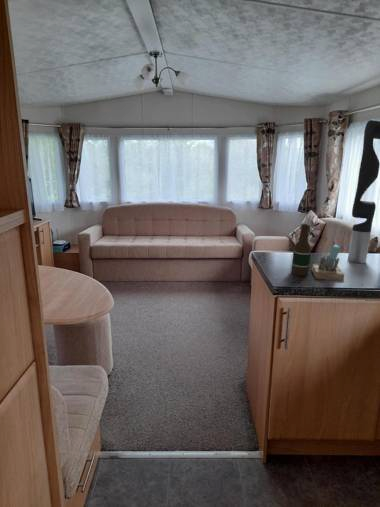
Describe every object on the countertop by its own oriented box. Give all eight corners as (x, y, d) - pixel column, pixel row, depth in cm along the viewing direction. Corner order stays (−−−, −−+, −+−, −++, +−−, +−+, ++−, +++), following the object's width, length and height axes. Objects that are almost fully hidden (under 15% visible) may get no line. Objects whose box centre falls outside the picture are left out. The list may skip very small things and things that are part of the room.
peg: (324, 264, 162) (332, 244, 152) (331, 265, 162) (340, 245, 152) (325, 269, 160) (333, 249, 150) (332, 270, 160) (340, 250, 149)
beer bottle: (308, 272, 165) (314, 223, 159) (307, 277, 158) (314, 226, 152) (291, 270, 168) (296, 222, 162) (290, 275, 161) (296, 225, 155)
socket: (311, 269, 170) (314, 251, 168) (337, 272, 168) (340, 254, 165) (315, 278, 157) (318, 259, 154) (343, 281, 154) (346, 261, 152)
